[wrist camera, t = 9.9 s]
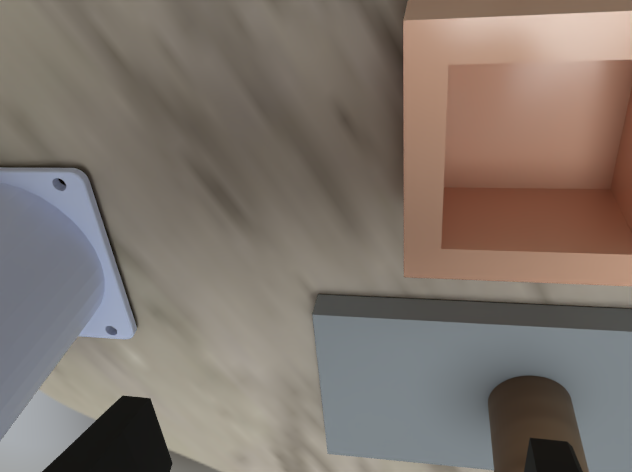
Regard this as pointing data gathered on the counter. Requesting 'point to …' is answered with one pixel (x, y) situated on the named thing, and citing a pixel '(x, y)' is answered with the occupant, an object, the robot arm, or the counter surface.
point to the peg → (530, 420)
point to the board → (466, 375)
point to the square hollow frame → (518, 140)
